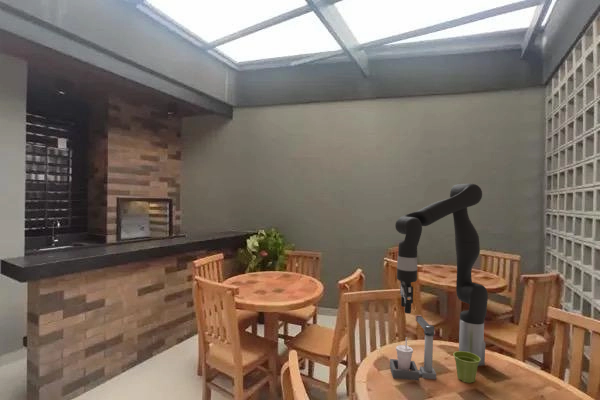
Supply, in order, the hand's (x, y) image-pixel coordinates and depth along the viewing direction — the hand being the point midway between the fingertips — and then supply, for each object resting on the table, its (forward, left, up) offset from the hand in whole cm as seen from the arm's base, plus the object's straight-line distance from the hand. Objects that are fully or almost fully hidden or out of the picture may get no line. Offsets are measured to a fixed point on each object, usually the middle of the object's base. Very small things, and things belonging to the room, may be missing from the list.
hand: (405, 309), depth 135 cm
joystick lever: (-8, -6, -9) cm, 14 cm away
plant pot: (-23, 0, -25) cm, 34 cm away
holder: (-3, 0, -25) cm, 25 cm away
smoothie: (0, 0, -25) cm, 25 cm away
